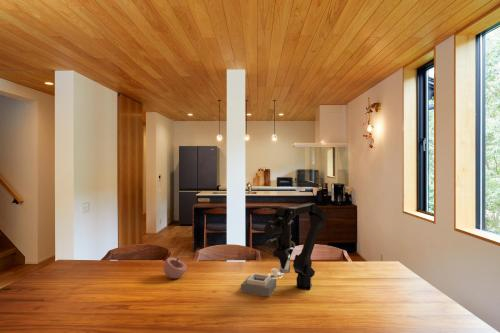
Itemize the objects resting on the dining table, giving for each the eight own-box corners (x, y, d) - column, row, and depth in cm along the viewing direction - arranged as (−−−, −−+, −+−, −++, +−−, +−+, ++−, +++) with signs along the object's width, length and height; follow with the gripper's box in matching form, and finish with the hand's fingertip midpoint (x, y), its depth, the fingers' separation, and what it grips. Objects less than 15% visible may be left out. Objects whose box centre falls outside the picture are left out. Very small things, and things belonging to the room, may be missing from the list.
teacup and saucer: (283, 274, 171) (283, 267, 171) (283, 279, 163) (284, 272, 163) (267, 273, 171) (267, 266, 171) (267, 279, 164) (267, 271, 163)
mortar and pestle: (183, 282, 159) (183, 260, 158) (160, 282, 159) (160, 260, 159) (188, 273, 171) (188, 253, 170) (167, 273, 171) (167, 253, 171)
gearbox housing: (276, 286, 153) (276, 274, 152) (269, 297, 141) (269, 284, 141) (249, 283, 157) (249, 271, 157) (241, 292, 146) (241, 280, 146)
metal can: (291, 270, 145) (291, 253, 145) (288, 273, 140) (288, 256, 140) (280, 268, 147) (280, 252, 147) (277, 272, 142) (277, 255, 142)
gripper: (273, 228, 155) (273, 259, 155) (261, 236, 137) (261, 271, 138) (295, 229, 151) (295, 261, 151) (286, 239, 134) (286, 274, 134)
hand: (284, 266), depth 144 cm, fingers closed on metal can, 5 cm apart
